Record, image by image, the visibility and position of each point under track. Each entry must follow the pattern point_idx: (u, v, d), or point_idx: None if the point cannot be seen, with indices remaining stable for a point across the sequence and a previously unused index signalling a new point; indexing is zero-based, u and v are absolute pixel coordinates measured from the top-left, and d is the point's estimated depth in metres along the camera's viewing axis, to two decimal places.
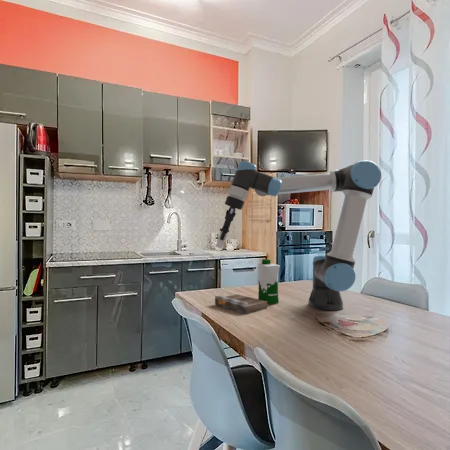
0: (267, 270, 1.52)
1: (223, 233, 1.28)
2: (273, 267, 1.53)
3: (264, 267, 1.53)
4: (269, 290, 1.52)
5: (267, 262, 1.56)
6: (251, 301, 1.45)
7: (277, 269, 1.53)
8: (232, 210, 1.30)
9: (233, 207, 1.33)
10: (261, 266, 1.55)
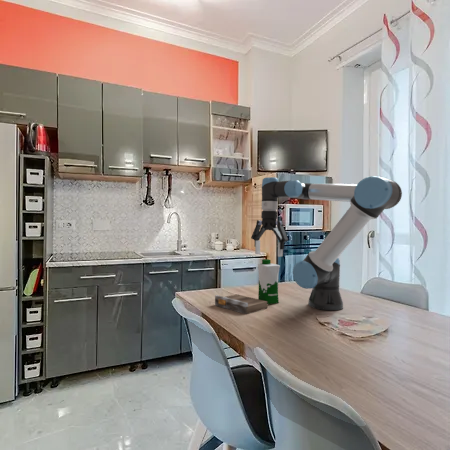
0: (267, 270, 1.52)
1: (283, 243, 1.50)
2: (273, 267, 1.53)
3: (264, 267, 1.53)
4: (269, 290, 1.52)
5: (267, 262, 1.56)
6: (251, 301, 1.45)
7: (277, 269, 1.53)
8: (281, 222, 1.51)
9: (275, 219, 1.53)
10: (261, 266, 1.55)
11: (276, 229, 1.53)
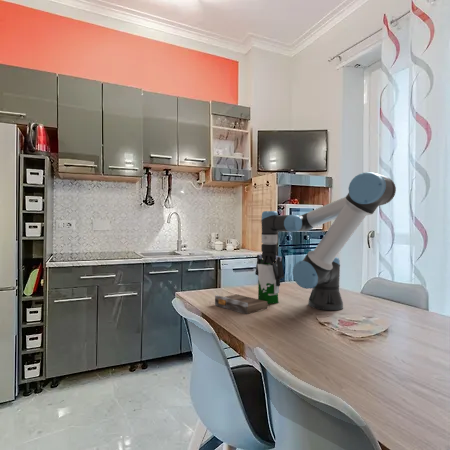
0: (266, 270, 1.52)
1: (279, 280, 1.52)
2: (272, 267, 1.53)
3: (263, 267, 1.53)
4: (268, 289, 1.52)
5: None
6: (251, 301, 1.45)
7: None
8: (281, 258, 1.51)
9: (276, 253, 1.53)
10: (260, 266, 1.55)
11: (275, 263, 1.54)
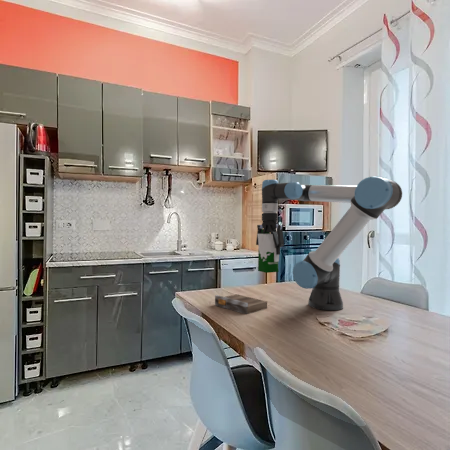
0: (266, 239, 1.52)
1: (279, 248, 1.52)
2: (272, 235, 1.53)
3: (263, 236, 1.53)
4: (268, 258, 1.52)
5: None
6: (251, 301, 1.45)
7: None
8: (281, 227, 1.51)
9: None
10: (261, 235, 1.55)
11: (275, 232, 1.54)
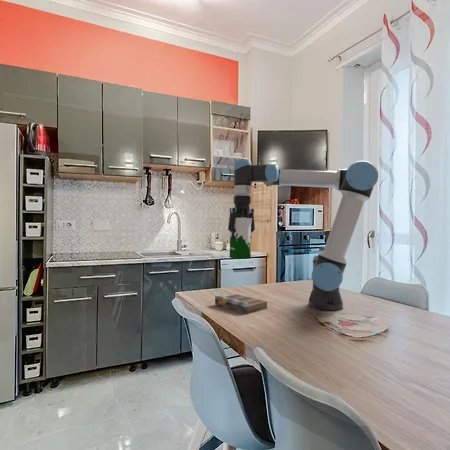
0: (250, 223, 1.45)
1: None
2: None
3: (248, 220, 1.44)
4: (250, 243, 1.46)
5: None
6: (251, 301, 1.45)
7: None
8: None
9: None
10: (244, 219, 1.43)
11: None
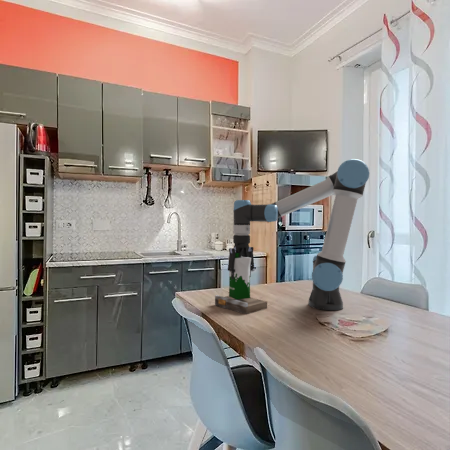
0: (250, 262, 1.45)
1: None
2: None
3: (247, 260, 1.44)
4: (249, 282, 1.46)
5: None
6: (251, 301, 1.45)
7: None
8: None
9: None
10: (243, 259, 1.43)
11: None
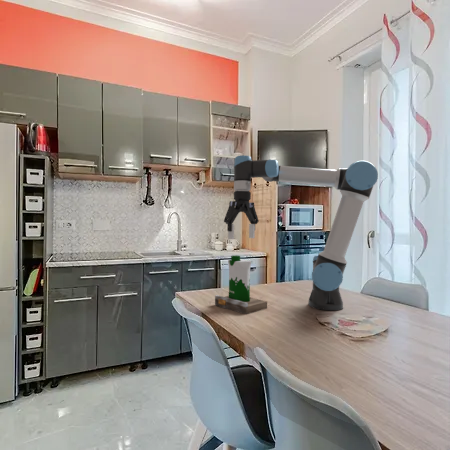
0: (250, 266, 1.45)
1: None
2: None
3: (247, 263, 1.44)
4: (249, 285, 1.46)
5: None
6: (251, 301, 1.45)
7: None
8: None
9: None
10: (243, 263, 1.43)
11: None
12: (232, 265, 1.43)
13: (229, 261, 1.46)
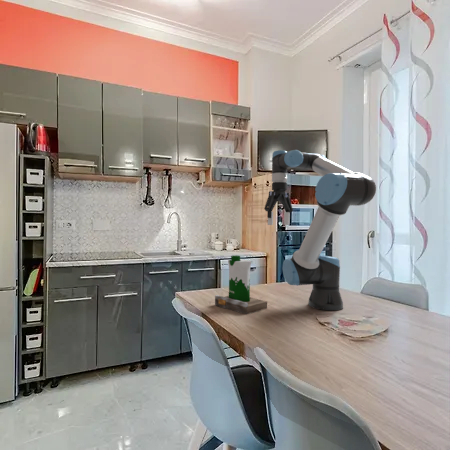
0: (250, 266, 1.45)
1: None
2: None
3: (247, 263, 1.44)
4: (249, 285, 1.46)
5: None
6: (251, 301, 1.45)
7: None
8: None
9: None
10: (243, 263, 1.43)
11: None
12: (232, 265, 1.43)
13: (229, 261, 1.46)
